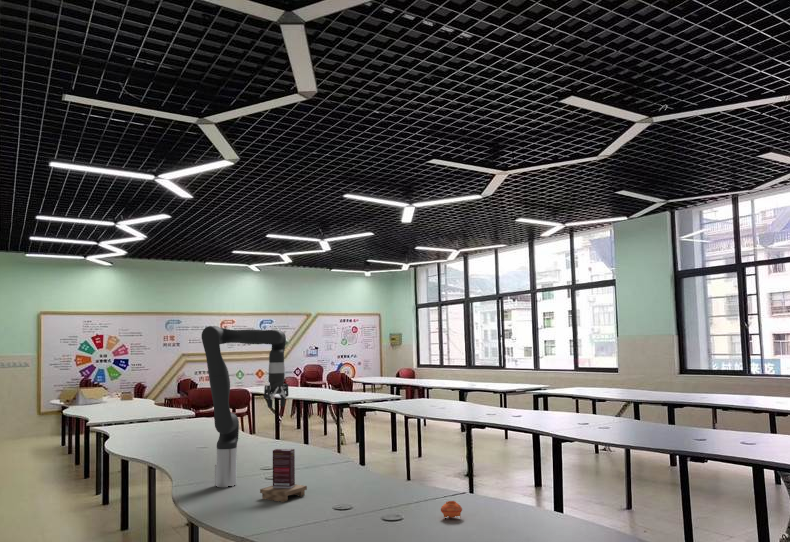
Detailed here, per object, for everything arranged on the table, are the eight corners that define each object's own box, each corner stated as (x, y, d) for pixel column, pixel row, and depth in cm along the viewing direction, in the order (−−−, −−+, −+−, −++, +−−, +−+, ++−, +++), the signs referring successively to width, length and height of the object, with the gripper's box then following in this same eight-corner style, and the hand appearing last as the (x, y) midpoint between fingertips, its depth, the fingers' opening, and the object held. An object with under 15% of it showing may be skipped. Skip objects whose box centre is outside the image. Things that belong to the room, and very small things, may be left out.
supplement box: (295, 486, 270) (295, 448, 272) (290, 489, 265) (290, 450, 267) (276, 485, 272) (276, 448, 274) (271, 488, 267) (272, 450, 269)
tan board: (260, 498, 265) (260, 489, 266) (282, 492, 277) (282, 482, 278) (285, 502, 258) (285, 492, 259) (306, 495, 270) (306, 485, 270)
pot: (452, 522, 223) (448, 502, 225) (438, 523, 229) (435, 504, 231) (468, 517, 228) (464, 498, 230) (455, 518, 234) (451, 499, 236)
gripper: (272, 372, 288) (271, 408, 286) (292, 371, 300) (292, 405, 298) (260, 372, 292) (259, 408, 290) (280, 371, 304) (280, 405, 302)
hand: (276, 406), depth 294 cm, fingers open, 8 cm apart
